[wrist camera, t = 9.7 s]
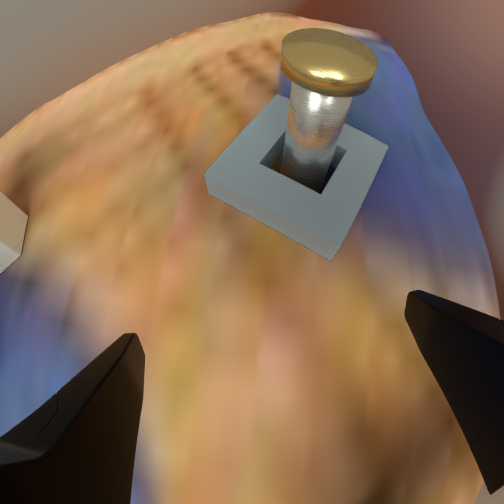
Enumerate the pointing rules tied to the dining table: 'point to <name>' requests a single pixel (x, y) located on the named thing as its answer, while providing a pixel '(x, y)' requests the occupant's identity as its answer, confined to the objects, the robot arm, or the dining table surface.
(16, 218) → the jar
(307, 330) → the dining table surface
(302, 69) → the pin
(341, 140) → the socket block
